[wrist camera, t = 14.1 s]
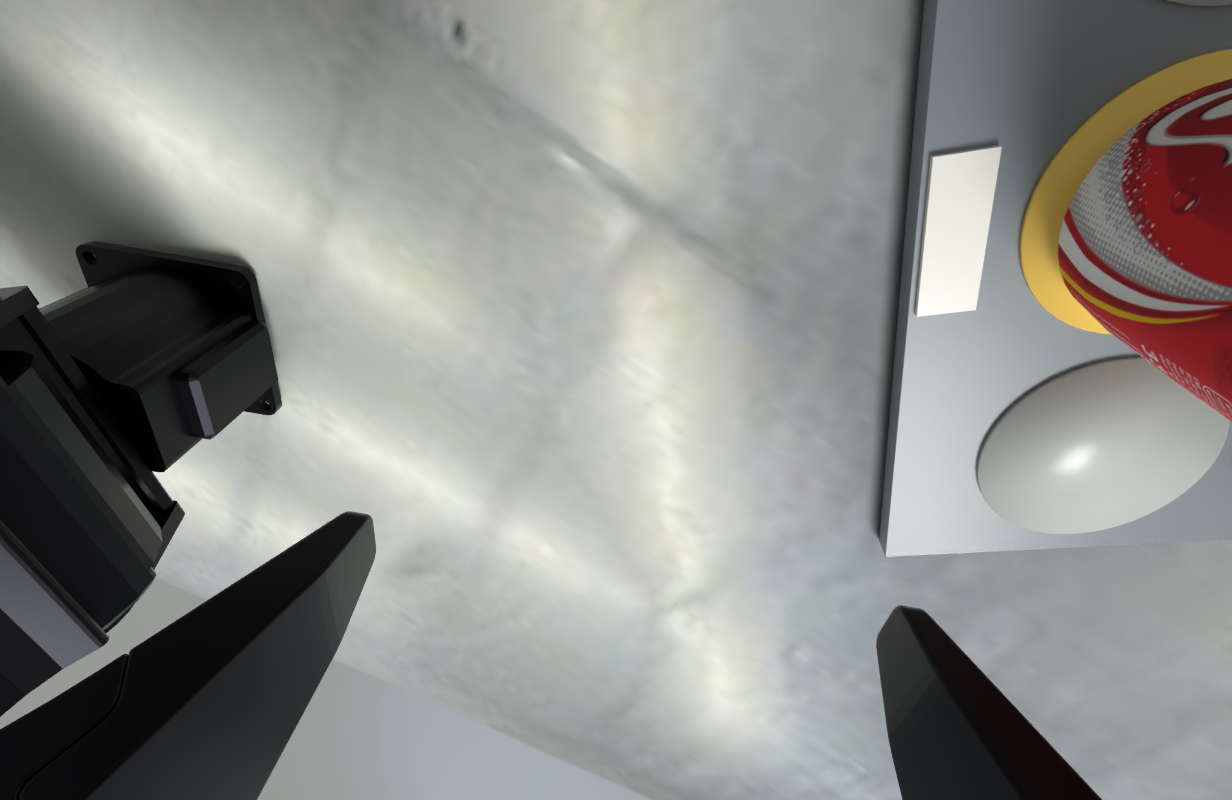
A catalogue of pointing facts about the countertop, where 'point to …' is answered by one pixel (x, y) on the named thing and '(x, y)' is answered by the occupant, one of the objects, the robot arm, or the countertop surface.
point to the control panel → (1038, 291)
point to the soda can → (1162, 242)
